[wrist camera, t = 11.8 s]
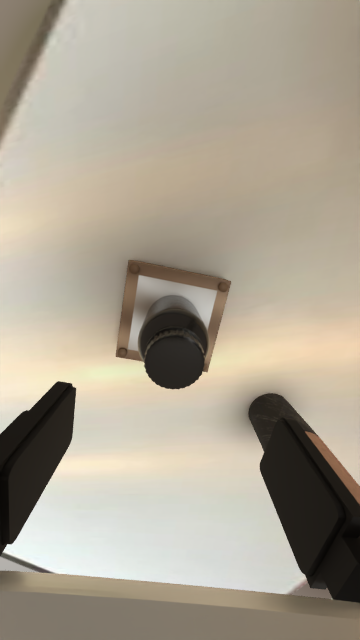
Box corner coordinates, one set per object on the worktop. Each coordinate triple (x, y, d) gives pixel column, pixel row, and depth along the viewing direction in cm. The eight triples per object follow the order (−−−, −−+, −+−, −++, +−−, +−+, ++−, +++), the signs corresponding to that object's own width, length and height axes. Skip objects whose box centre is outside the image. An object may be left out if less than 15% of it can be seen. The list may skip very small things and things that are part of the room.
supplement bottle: (140, 335, 28) (118, 387, 17) (155, 287, 27) (143, 306, 15) (188, 350, 29) (200, 410, 17) (206, 304, 27) (232, 335, 16)
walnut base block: (134, 260, 30) (127, 260, 25) (223, 278, 31) (232, 281, 26) (122, 345, 33) (114, 358, 29) (203, 359, 34) (208, 373, 30)
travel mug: (241, 400, 36) (320, 557, 17) (285, 386, 36) (415, 530, 17) (253, 434, 38) (335, 609, 19) (294, 421, 38) (420, 586, 19)
